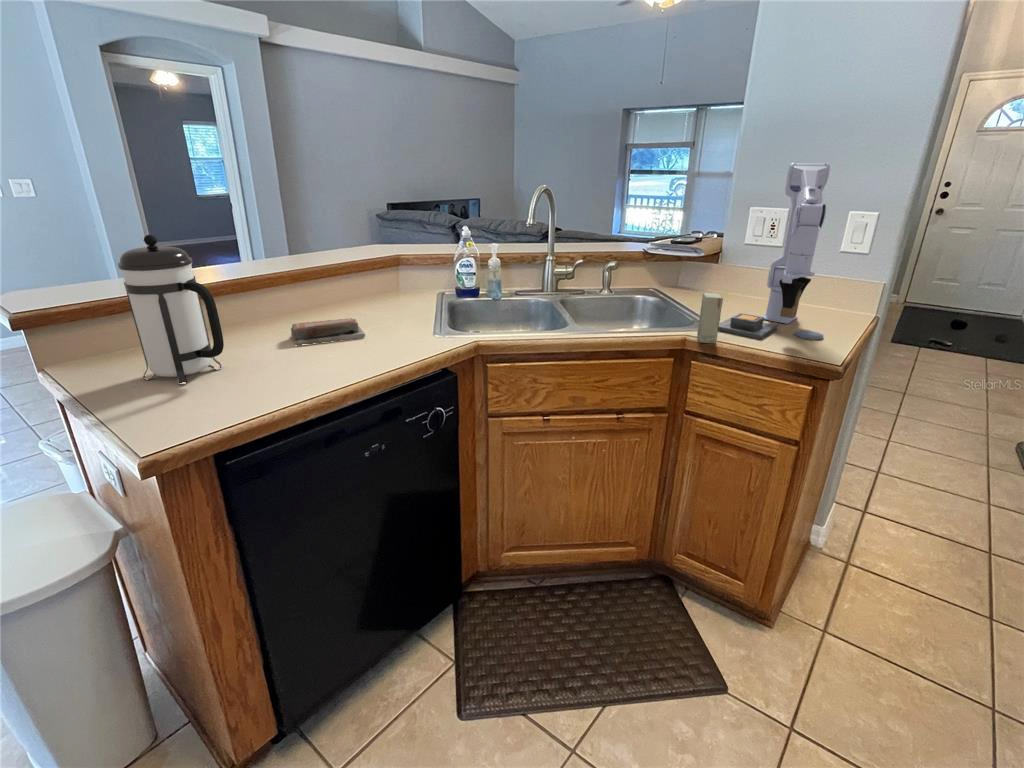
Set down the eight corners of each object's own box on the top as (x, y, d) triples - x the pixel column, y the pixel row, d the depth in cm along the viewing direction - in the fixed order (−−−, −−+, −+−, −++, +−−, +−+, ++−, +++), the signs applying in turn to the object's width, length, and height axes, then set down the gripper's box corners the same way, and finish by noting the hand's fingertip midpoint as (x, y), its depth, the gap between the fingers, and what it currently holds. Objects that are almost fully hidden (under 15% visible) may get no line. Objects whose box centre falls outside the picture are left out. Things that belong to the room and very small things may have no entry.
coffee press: (136, 393, 107) (92, 242, 96) (150, 367, 121) (113, 231, 109) (232, 381, 114) (201, 237, 102) (235, 357, 127) (208, 228, 115)
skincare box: (716, 344, 139) (724, 298, 134) (699, 343, 140) (706, 297, 135) (713, 336, 145) (720, 292, 140) (696, 335, 146) (702, 291, 141)
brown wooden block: (783, 313, 142) (789, 288, 139) (795, 316, 140) (801, 289, 137) (780, 316, 140) (785, 289, 137) (792, 318, 138) (798, 291, 135)
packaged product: (291, 330, 133) (288, 320, 141) (294, 348, 135) (291, 337, 143) (364, 322, 140) (357, 313, 149) (366, 339, 142) (359, 329, 150)
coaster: (799, 330, 150) (799, 328, 150) (826, 336, 146) (826, 333, 146) (791, 336, 146) (791, 334, 145) (818, 341, 141) (819, 339, 141)
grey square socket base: (732, 320, 160) (734, 309, 158) (777, 329, 152) (779, 317, 150) (713, 329, 151) (715, 317, 150) (760, 339, 143) (763, 326, 141)
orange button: (742, 318, 153) (742, 314, 153) (757, 321, 150) (758, 317, 150) (736, 321, 150) (736, 317, 150) (751, 324, 147) (752, 320, 147)
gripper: (809, 259, 126) (797, 314, 131) (826, 252, 136) (814, 304, 141) (778, 255, 130) (767, 309, 136) (797, 249, 140) (786, 299, 146)
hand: (789, 306), depth 139 cm, fingers closed on brown wooden block, 3 cm apart
